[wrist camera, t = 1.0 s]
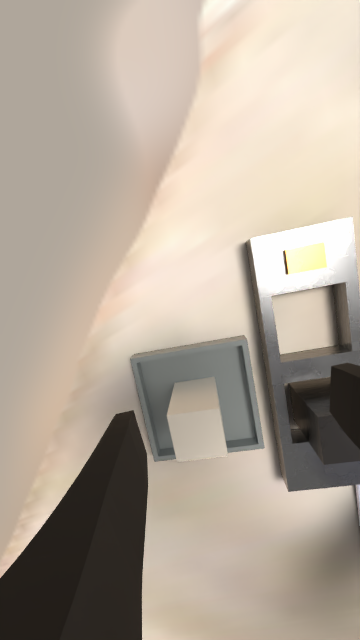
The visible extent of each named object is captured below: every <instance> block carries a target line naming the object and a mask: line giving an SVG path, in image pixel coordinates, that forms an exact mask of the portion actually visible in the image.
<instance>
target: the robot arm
mask: <svg viewBox="0 0 360 640" xmlns="http://www.w3.org/2000/svg"><path fill="white" fill-rule="evenodd" d="M329 412H330V413H331V414H332V416H333V417H334V419H335V420H336V421H337V423H338V424H339V426H340V427H341V428H342V429H343V431H344V432H345V433H346V435H347V436H348V437H349V438H350V439H351V441H352V442H353V443H354V444H355V445H356V446H357V447H358V448H359V449H360V366H358V365H355V364H351V363H343V364H338V365H334V366H331V382H330V410H329ZM355 486H356V496H357V505H358V515H359V524H360V484H359V485H355ZM147 493H148V470H147V453H146V450H145V446H144V443H143V440H142V437H141V434H140V430H139V427H138V424H137V421H136V418H135V414H134V411H128V412H124V413H119V414H116V415H115V416H114V418H113V420H112V421H111V423H110V425H109V426H108V428H107V430H106V431H105V433H104V435H103V436H102V438H101V440H100V441H99V443H98V445H97V446H96V448H95V450H94V451H93V453H92V455H91V456H90V458H89V459H88V461H87V462H86V464H85V466H84V467H83V469H82V470H81V472H80V473H79V475H78V477H77V478H76V480H75V481H74V482H73V484H72V485H71V487H70V488H69V490H68V491H67V493H66V494H65V496H64V497H63V498H62V500H61V501H60V503H59V504H58V506H57V507H56V508H55V510H54V511H53V513H52V514H51V515H50V517H49V518H48V519H47V521H46V522H45V523H44V525H43V526H42V527H41V529H40V530H39V531H38V533H37V534H36V535H35V537H34V538H33V539H32V540H31V542H30V543H29V544H28V546H27V547H26V548H25V549H24V551H23V552H22V553H21V554H20V556H19V557H18V558H17V559H16V560H15V562H14V563H13V564H12V565H11V566H10V568H9V569H8V570H7V571H6V572H5V573H4V575H3V576H2V577H1V578H0V640H142V570H143V555H144V540H145V525H146V510H147Z"/></svg>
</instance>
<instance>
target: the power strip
mask: <svg viewBox="0 0 360 640" xmlns="http://www.w3.org/2000/svg"><path fill="white" fill-rule="evenodd" d="M246 246H247V252H248V259H249V265H250V272H251V278H252V285H253V291H254V298H255V304H256V311H257V317H258V324H259V330H260V337H261V344H262V350H263V357H264V363H265V370H266V376H267V383H268V389H269V396H270V402H271V409H272V415H273V422H274V428H275V435H276V441H277V448H278V455H279V461H280V468H281V474H282V477H283V480H284V482H285V484H286V487H287V489H288V492H290V491H300V490H309V489H319V488H329V487H339V486H349V485H359V484H360V449H359V448H358V447H357V446H356V445H355V444H354V443H353V442H352V441H351V439H350V438H349V437H348V436H347V435H346V433H345V432H344V431H343V429H342V428H341V427H340V426H339V424H338V423H337V421H336V420H335V419H334V417H333V416H332V414H331V413H330V412H329V410H330V382H331V366H334V365H338V364H343V363H351V364H355V365H358V366H360V292H359V281H358V270H357V258H356V247H355V236H354V225H353V217H349V218H344V219H339V220H334V221H330V222H325V223H320V224H316V225H311V226H306V227H302V228H297V229H292V230H288V231H283V232H278V233H274V234H269V235H264V236H260V237H255V238H250V239H249V240H248V241H247V242H246ZM332 284H333V290H334V299H335V309H336V318H337V328H338V337H339V345H338V346H332V347H325V348H319V349H313V350H307V351H301V352H294V353H288V354H282V355H280V353H279V346H278V339H277V332H276V325H275V318H274V311H273V304H272V297H271V296H273V295H279V294H284V293H289V292H295V291H300V290H305V289H311V288H316V287H321V286H327V285H332ZM326 377H327V378H326ZM319 378H321V379H319ZM312 379H314V380H312ZM306 380H307V381H306ZM299 381H300V382H299ZM292 382H294V383H292ZM285 383H289V388H290V395H291V402H292V409H293V417H294V421H295V423H296V424H297V426H298V427H299V429H295V430H290V423H289V416H288V409H287V402H286V395H285V388H284V384H285Z"/></svg>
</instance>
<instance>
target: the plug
mask: <svg viewBox="0 0 360 640" xmlns="http://www.w3.org/2000/svg"><path fill="white" fill-rule="evenodd" d="M167 419H168V424H169V428H170V433H171V437H172V442H173V446H174V451H175V455H176V460H177V462H185V461H193V460H201V459H210V458H218V457H226V456H228V452H227V446H226V440H225V434H224V427H223V421H222V415H221V409H220V404H219V399H218V393H217V388H216V382H215V377H209V378H203V379H196V380H190V381H184V382H177V383H175V384H174V388H173V392H172V396H171V400H170V404H169V408H168V412H167Z"/></svg>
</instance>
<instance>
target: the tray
mask: <svg viewBox="0 0 360 640" xmlns="http://www.w3.org/2000/svg"><path fill="white" fill-rule="evenodd" d="M130 360H131V364H132V368H133V373H134V377H135V381H136V385H137V390H138V394H139V398H140V402H141V407H142V411H143V415H144V419H145V423H146V428H147V432H148V436H149V440H150V445H151V449H152V453H153V457H154V462H156V461H164V460H172V459H176V455H175V451H174V446H173V442H172V437H171V433H170V428H169V424H168V419H167V412H168V408H169V404H170V400H171V396H172V392H173V388H174V384H175V383H177V382H184V381H190V380H196V379H203V378H209V377H215V382H216V388H217V393H218V399H219V404H220V409H221V415H222V421H223V427H224V434H225V440H226V446H227V452H228V453H230V452H238V451H247V450H255V449H263V448H264V441H263V435H262V429H261V423H260V417H259V410H258V404H257V398H256V392H255V386H254V379H253V373H252V367H251V361H250V355H249V349H248V342H247V338H246V337H245V336H244V335H243V336H237V337H231V338H225V339H220V340H214V341H208V342H202V343H196V344H191V345H185V346H179V347H173V348H167V349H161V350H156V351H150V352H144V353H138V354H134V355H133V356H132V357H131V359H130Z"/></svg>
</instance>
